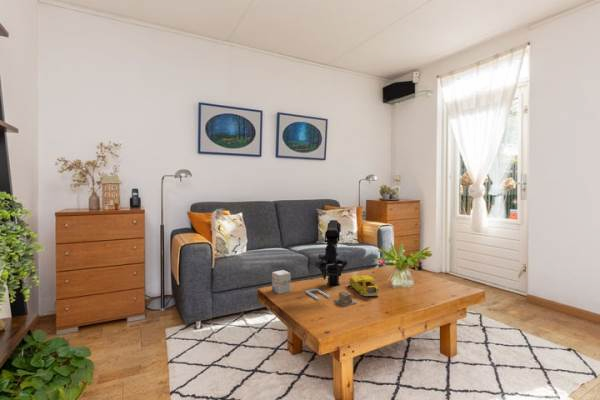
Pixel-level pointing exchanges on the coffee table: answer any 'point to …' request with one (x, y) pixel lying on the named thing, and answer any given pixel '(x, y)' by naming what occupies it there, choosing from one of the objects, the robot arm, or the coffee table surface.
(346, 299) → the walnut block
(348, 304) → the slate coaster
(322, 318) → the coffee table surface
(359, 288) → the toy car
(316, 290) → the acrylic channel
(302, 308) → the coffee table surface
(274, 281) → the ink box
